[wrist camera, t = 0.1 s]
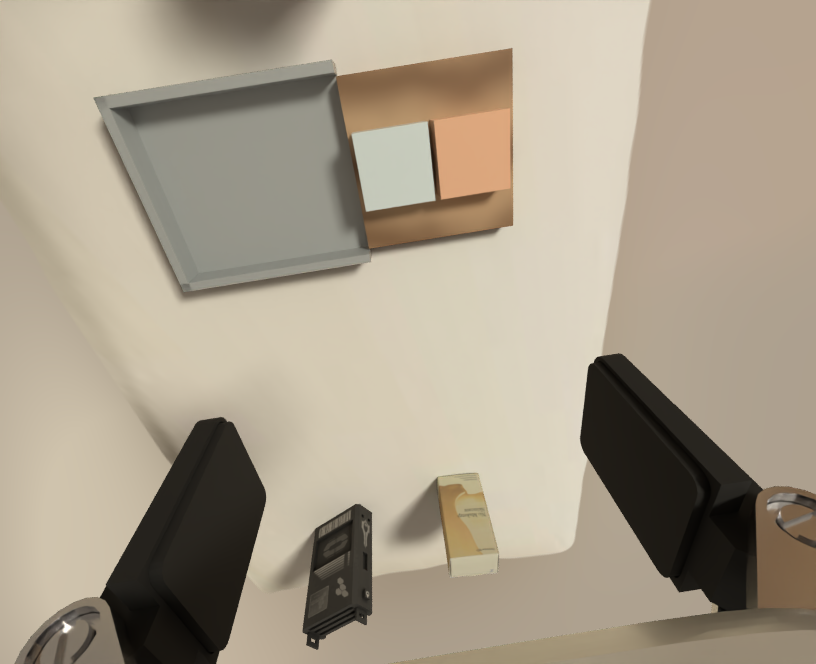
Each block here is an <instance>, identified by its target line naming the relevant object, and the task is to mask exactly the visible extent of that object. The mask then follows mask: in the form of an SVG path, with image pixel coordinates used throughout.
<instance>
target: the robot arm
mask: <svg viewBox="0 0 816 664" xmlns="http://www.w3.org/2000/svg"><path fill="white" fill-rule="evenodd" d="M580 442H581V446H582V449H583V451H584V453H585V455H586V456H587V458H588V459H589V461H590V463H591V464H592V466H593V467H594V469H595V471H596V472H597V474H598V475H599V477H600V479H601V480H602V482H603V483H604V485H605V487H606V488H607V490H608V491H609V493H610V494H611V496H612V498H613V499H614V501H615V503H616V504H617V506H618V507H619V509H620V511H621V512H622V514H623V515H624V517H625V519H626V520H627V522H628V523H629V525H630V527H631V528H632V530H633V531H634V533H635V534H636V536H637V538H638V539H639V541H640V543H641V544H642V546H643V547H644V549H645V551H646V552H647V554H648V555H649V557H650V559H651V560H652V562H653V564H654V565H655V566H656V568H657V570H658V571H659V573H660V574H661V575H663V576H664V577H666V578H668V577H670V579H671V580H672V582H673V583H674V585H675V586H676V588H677V590H678V591H679V592H684V591H691V590H697V589H702V591H703V592H704V594H705V595H706V597H707V598H708V599H709V601H710V602H712V609H711V613H710V614H702V615H695V616H688V617H681V618H673V619H667V620H659V621H652V622H644V623H638V624H632V625H625V626H619V627H613V628H606V629H601V630H594V631H587V632H581V633H575V634H569V635H562V636H556V637H550V638H543V639H537V640H531V641H524V642H518V643H512V644H506V645H500V646H493V647H488V648H481V649H475V650H470V651H463V652H457V653H450V654H445V655H438V656H432V657H426V658H420V659H414V660H408V661H402V662H396V663H390V664H816V494H813V493H811V492H808V491H806V490H802V489H798V488H793V487H789V486H774V487H770V488H766V489H764V490H763V489H762V488H761V487H760V486H759V485H758V484H757V483H756V482H755V481H754V480H753V479H752V478H750V477H749V476H748V475H747V474H746V473H745V472H744V471H743V470H742V469H741V468H740V467H739V466H738V465H737V464H736V463H735V462H734V461H733V460H732V459H731V458H730V457H729V456H728V455H727V454H726V453H725V452H724V451H722V450H721V449H720V448H719V447H718V446H717V445H716V444H715V443H714V442H713V441H712V440H711V439H710V438H709V437H708V436H707V435H706V434H705V433H704V432H703V431H702V430H701V429H700V428H699V427H698V426H696V424H694V422H692V421H691V420H690V419H689V418H688V417H687V416H686V415H685V414H684V413H683V412H682V411H681V410H680V409H679V408H678V407H677V406H676V405H675V404H673V403H672V402H671V401H670V400H669V399H668V398H667V397H666V396H665V395H664V394H663V393H662V392H661V391H660V390H659V389H658V388H657V387H656V386H655V385H654V384H653V383H651V381H650V380H649V379H648V378H647V377H646V376H645V375H643V374H642V373H641V372H640V371H639V370H638V369H637V368H636V367H635V366H634V365H633V364H632V363H631V362H630V361H629V360H628V359H627V358H626V357H625V356H623V355H622V354H619V353H618V354H612V355H606V356H600V357H597V358H596V359H595V361H594V363H592V364H590V365H589V367H588V374H587V383H586V392H585V401H584V409H583V418H582V427H581V435H580ZM265 503H266V492H265V489H264V486H263V484H262V482H261V480H260V478H259V476H258V474H257V472H256V470H255V468H254V466H253V463H252V461H251V459H250V457H249V455H248V453H247V451H246V449H245V447H244V445H243V443H242V440H241V438H240V436H239V434H238V432H237V430H236V428H235V426H234V424H233V423H232V422H227V421H226V419H224V418H222V417H219V418H213V419H207V420H201V421H198V422H197V423H196V424H195V426H194V428H193V430H192V431H191V433H190V435H189V437H188V439H187V440H186V442H185V444H184V446H183V448H182V449H181V451H180V453H179V455H178V456H177V458H176V460H175V462H174V464H173V465H172V467H171V469H170V471H169V473H168V474H167V476H166V478H165V480H164V481H163V483H162V485H161V487H160V489H159V490H158V492H157V494H156V496H155V498H154V499H153V501H152V503H151V505H150V507H149V508H148V510H147V512H146V514H145V515H144V517H143V519H142V521H141V523H140V524H139V526H138V528H137V530H136V531H135V533H134V535H133V537H132V539H131V540H130V542H129V544H128V546H127V548H126V550H125V551H124V553H123V555H122V556H121V558H120V560H119V562H118V564H117V566H116V567H115V569H114V571H113V573H112V574H111V576H110V578H109V580H108V582H107V583H106V587H105V589H104V591H103V593H102V595H101V596H100V598H98V597H92V598H85V599H82V600H79V601H76V602H74V603H72V604H70V605H69V606H66V607H65V608H63V609H61V610H60V611H58V612H57V613H56V614H55V615H53V616H52V617H51V618H49V620H47V621H46V622H45V623H44V624H43V625H42V626H41V627H40V628H39V629H38V630H37V631H36V632H35V633H34V634H33V635H32V636H31V637H30V639H29V640H28V642H27V643H26V644H25V646H24V647H23V649H22V650H21V651H20V654H19V656H18V658H17V660H16V662H15V664H216V662H217V658H218V655H219V651H221V650H223V649H224V648H225V647H226V645H227V644H228V641H229V638H230V634H231V630H232V626H233V623H234V619H235V615H236V612H237V608H238V604H239V600H240V597H241V593H242V589H243V585H244V582H245V578H246V574H247V571H248V567H249V563H250V559H251V556H252V552H253V548H254V544H255V541H256V537H257V533H258V530H259V526H260V522H261V518H262V515H263V511H264V507H265Z"/></svg>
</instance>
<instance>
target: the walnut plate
mask: <svg viewBox="0 0 816 664" xmlns="http://www.w3.org/2000/svg"><path fill="white" fill-rule="evenodd" d="M336 80H337V85H338V90H339V95H340V101H341V106H342V111H343V116H344V121H345V126H346V132H347V137H348V142H349V147H350V152H351V157H352V163H353V168H354V173H355V178H356V183H357V188H358V194H359V199H360V204H361V209H362V214H363V219H364V225H365V230H366V235H367V240H368V245H369V249H370V248H377V247H383V246H389V245H395V244H401V243H408V242H414V241H420V240H426V239H432V238H439V237H445V236H451V235H457V234H463V233H470V232H476V231H482V230H488V229H494V228H501V227H507V226H513V78H512V48H511V49H505V50H498V51H492V52H486V53H480V54H473V55H467V56H461V57H454V58H448V59H442V60H436V61H429V62H423V63H417V64H411V65H404V66H398V67H392V68H386V69H379V70H373V71H367V72H361V73H354V74H348V75H342V76H336ZM501 108H510V181H511V188H510V189H504V190H498V191H491V192H485V193H479V194H473V195H467V196H460V197H454V198H448V199H442V200H441V199H440V197H439V196H438V195H437V189H436V179H435V169H434V158H433V148H432V138H431V127H430V120H432V119H438V118H445V117H451V116H457V115H463V114H470V113H476V112H482V111H488V110H495V109H501ZM420 121H427V122H428V130H429V140H430V150H431V160H432V171H433V181H434V191H435V201H429V202H423V203H417V204H411V205H404V206H398V207H392V208H386V209H380V210H373V211H367V212H366V208H365V203H364V198H363V192H362V187H361V182H360V177H359V171H358V166H357V161H356V155H355V150H354V145H353V139H352V132H357V131H363V130H370V129H376V128H382V127H388V126H395V125H401V124H407V123H413V122H420Z"/></svg>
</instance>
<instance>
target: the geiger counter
mask: <svg viewBox="0 0 816 664" xmlns="http://www.w3.org/2000/svg"><path fill="white" fill-rule="evenodd" d="M371 614H372V513H371V512H370V511H369V510H367V509H366V508H364V507H363V506H361V505H360V504H355V505H354V506H352V507H350V508H349V509H347V510H345V511H344V512H342V513H341V514H339V515H337V516H336V517H334V518H332V519H331V520H329V521H328V522H326V523H324V524H323V525H321V526H319V527H318V528H316V531H315V539H314V546H313V554H312V562H311V569H310V577H309V585H308V593H307V601H306V608H305V615H304V623H303V633H305V634H307V635H308V636H307V644H306V645H307V646H310V647H312V648H314V649H316V650H317V649H318V647H319V639H325V638H326V635H328V634H330V633H331V632H334V631H336V630H337V629H339V628H341V627H343V626H345V625H347V624H349V623H351V622H353V621H355V620H356V621H358V622H360V623H362V624H364V625H367V615H368V616H370V615H371ZM362 617H363V618H362ZM311 638H312V639H314V640H315V643H314V642H311Z"/></svg>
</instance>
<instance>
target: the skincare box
mask: <svg viewBox="0 0 816 664" xmlns="http://www.w3.org/2000/svg"><path fill="white" fill-rule="evenodd" d="M437 489H438V499H439V506H440V513H441V520H442V527H443V534H444V541H445V548H446V555H447V562H448V568H449V577H451V578H453V577H462V576H477V575H481V574H491V573H498V567H499V551H498V547H497V543H496V540H495V536H494V532H493V528H492V524H491V520H490V516H489V513H488V509H487V505H486V501H485V497H484V494H483V490H482V486H481V482H480V478H479V475H478V473H473V474H461V475H451V476H442V477H438V478H437Z"/></svg>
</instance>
